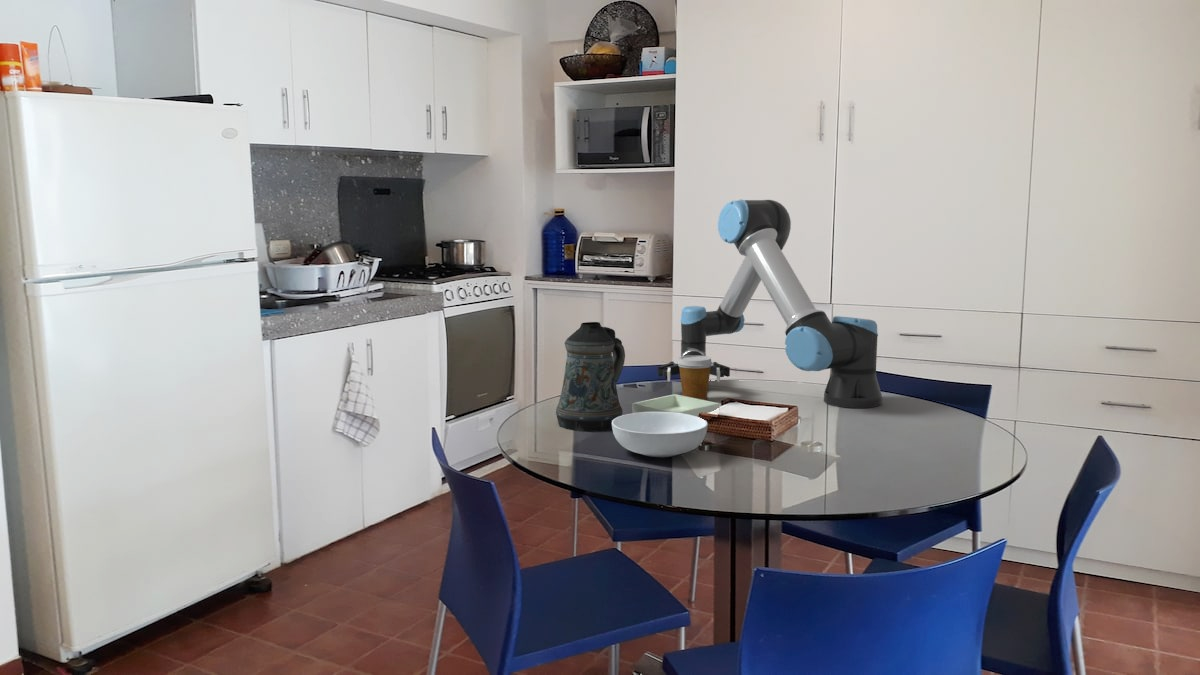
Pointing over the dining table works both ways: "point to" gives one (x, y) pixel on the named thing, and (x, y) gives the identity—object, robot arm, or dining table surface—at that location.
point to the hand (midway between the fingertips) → (693, 376)
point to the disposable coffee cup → (695, 375)
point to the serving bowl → (659, 432)
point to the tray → (675, 405)
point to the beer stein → (591, 379)
